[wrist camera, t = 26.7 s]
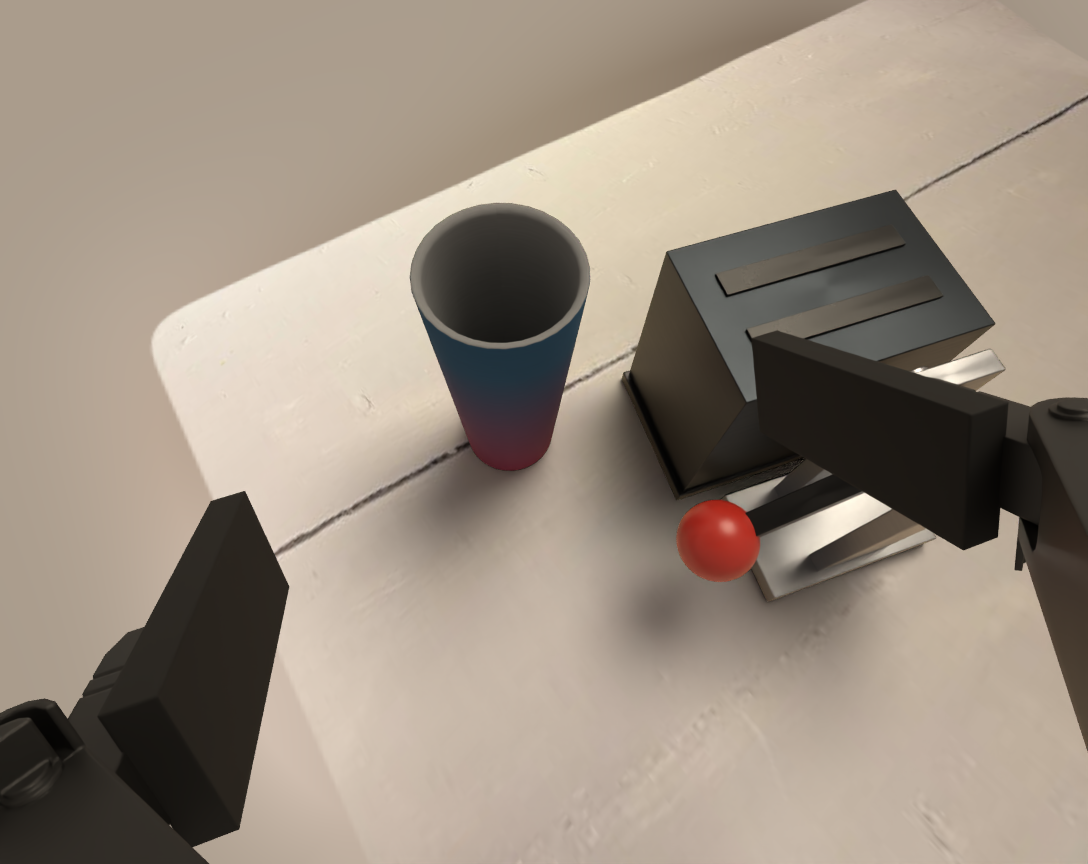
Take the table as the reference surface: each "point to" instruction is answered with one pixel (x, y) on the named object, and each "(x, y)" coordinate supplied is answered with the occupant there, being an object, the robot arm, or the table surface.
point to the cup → (503, 322)
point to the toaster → (786, 325)
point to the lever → (748, 527)
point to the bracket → (843, 512)
